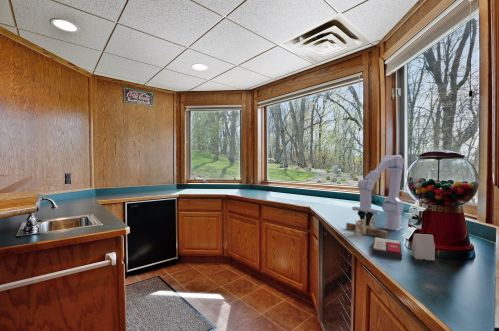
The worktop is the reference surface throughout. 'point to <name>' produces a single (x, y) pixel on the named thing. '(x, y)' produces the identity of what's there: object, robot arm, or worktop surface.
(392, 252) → the calculator
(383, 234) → the walnut stand
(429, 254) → the tea bag
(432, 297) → the worktop surface
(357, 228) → the cross piece
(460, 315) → the worktop surface
